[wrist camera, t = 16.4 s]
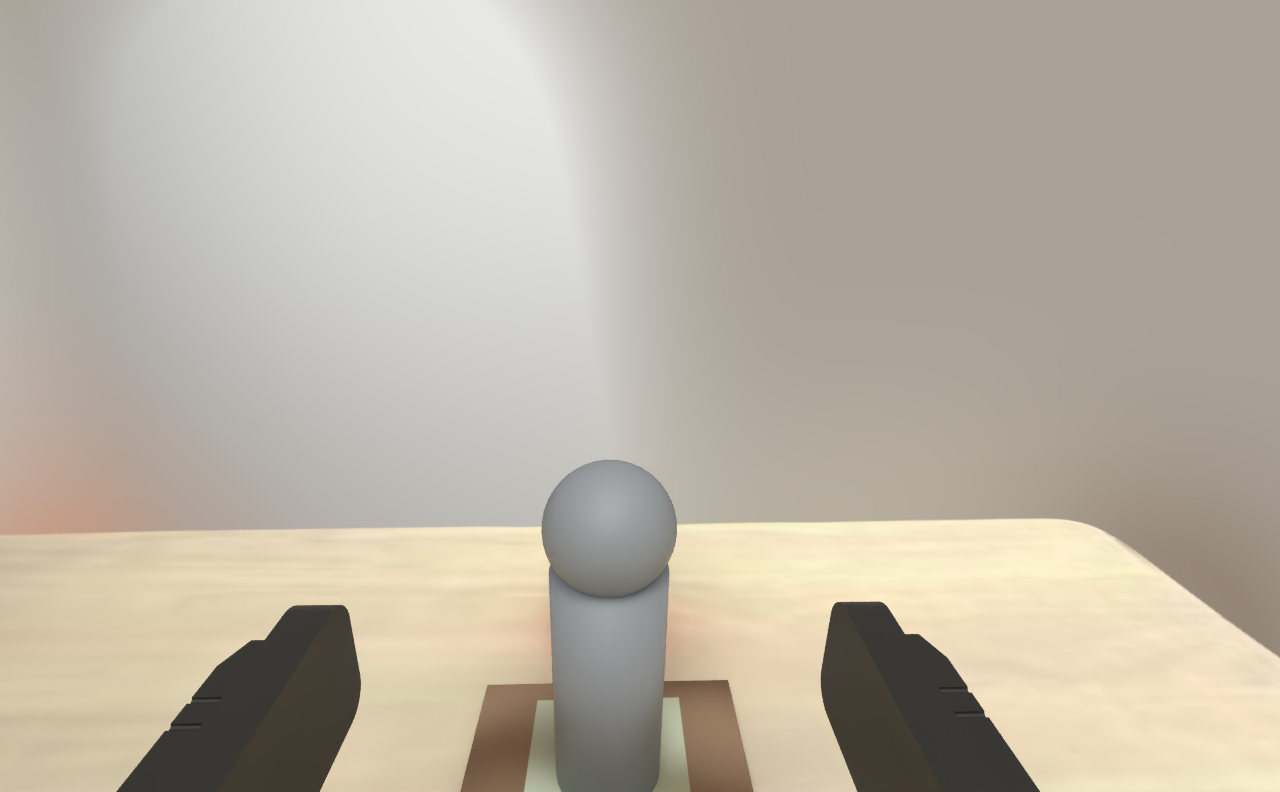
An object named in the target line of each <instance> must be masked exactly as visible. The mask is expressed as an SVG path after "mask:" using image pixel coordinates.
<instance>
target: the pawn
mask: <svg viewBox="0 0 1280 792" xmlns="http://www.w3.org/2000/svg"><path fill="white" fill-rule="evenodd" d="M676 535H677V521H676V515H675V510H674V507H673V504H672V501H671V499H670V497H669V496H668V494H667V492H666V490H665V489H664V487H663V486H662V485H661V483H660V482H659V481H658V480H657V479H656V478H655V477H654V476H653V475H651V474H650V473H649V472H647V471H645V470H644V469H643V468H641V467H639V466H636V465H634V464H632V463H628V462H625V461H619V460H601V461H595V462H592V463H589V464H586V465H583V466H581V467H579V468H577V469H576V470H574V471H573V472H571V473H570V474H568V475H567V476H566V477H565V478H564V479H563V480H562V481H561V482H560V483H559V484H558V485H557V486H556V488H555V489H554V491H553V492H552V494H551V496H550V497H549V499H548V502H547V504H546V507H545V510H544V514H543V519H542V539H543V546H544V549H545V553H546V555H547V558H548V560H549V562H550V564H551V565H550V569H549V590H550V617H551V645H552V672H553V699H554V727H555V754H556V775H557V781H558V784H559V787H560V789H561V791H562V792H653V790H654V788H655V786H656V784H657V781H658V777H659V771H660V751H661V730H662V710H663V689H664V669H665V648H666V628H667V607H668V587H669V567H668V562H669V559H670V557H671V555H672V553H673V550H674V546H675V542H676Z"/></svg>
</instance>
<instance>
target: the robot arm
mask: <svg viewBox="0 0 1280 792" xmlns="http://www.w3.org/2000/svg"><path fill="white" fill-rule="evenodd" d="M360 690H361V679H360V672H359V666H358V661H357V655H356V650H355V644H354V639H353V633H352V627H351V622H350V616H349V613H348V610H347V609H346V607H345V606H343V605H303V606H293V607H291V608H289V609H288V610H287V611H286V612H285V614H284V615H283V616H282V618H281V619H280V620H279V622H278V623H277V624H276V626H275V627H274V628H273V630H272V631H271V632H270V634H269V635H268V636H267V638H266V639H265V640H251V641H250V642H249V643H247V644H246V645H245V646H243V647H242V648H241V649H239V650H238V651H237V652H235V653H234V654H233V655H231V656H230V657H229V658H227V659H226V660H225V661H223V662H222V663H221V664H219V665H218V666H217V667H216V668H215V669H214V671H213V672H212V673H211V674H210V676H209V677H208V678H207V679H206V681H205V682H204V683H203V684H202V686H201V687H200V688H199V689H198V691H197V692H196V693H195V694H194V696H193V697H192V701H191V703H190V704H186V706H185V707H184V708H183V709H182V711H181V712H180V713H179V714H178V716H177V717H176V718H175V719H174V721H173V722H172V723H171V728H170V730H169V731H165V732H164V733H163V734H162V736H161V737H160V738H159V739H158V741H157V742H156V743H155V744H154V745H153V747H152V748H151V749H150V750H149V752H148V753H147V754H146V755H145V757H144V758H143V759H142V760H141V762H140V763H139V764H138V765H137V767H136V768H135V769H134V770H133V772H132V773H131V774H130V775H129V777H128V778H127V779H126V780H125V782H124V783H123V784H122V785H121V787H120V788H119V789H118V790H117V792H320V790H321V788H322V785H323V783H324V781H325V779H326V777H327V775H328V773H329V771H330V769H331V766H332V764H333V762H334V760H335V758H336V756H337V754H338V752H339V750H340V747H341V745H342V743H343V741H344V739H345V737H346V735H347V733H348V731H349V728H350V726H351V724H352V722H353V720H354V717H355V714H356V711H357V708H358V703H359V698H360ZM821 691H822V698H823V703H824V707H825V710H826V713H827V716H828V719H829V721H830V724H831V726H832V729H833V731H834V734H835V736H836V739H837V741H838V744H839V746H840V749H841V751H842V754H843V756H844V759H845V761H846V764H847V767H848V769H849V772H850V774H851V777H852V779H853V782H854V784H855V787H856V789H857V792H1040V791H1039V789H1038V788H1037V787H1036V785H1035V784H1034V782H1033V781H1032V779H1031V778H1030V776H1029V775H1028V774H1027V772H1026V771H1025V769H1024V768H1023V766H1022V765H1021V763H1020V762H1019V761H1018V759H1017V758H1016V756H1015V755H1014V753H1013V752H1012V750H1011V749H1010V747H1009V746H1008V745H1007V743H1006V742H1005V740H1004V739H1003V737H1002V736H1001V734H1000V733H999V732H998V730H997V729H996V727H995V726H994V724H993V723H992V721H991V720H990V719H989V717H987V718H986V717H985V714H984V710H983V708H982V707H981V706H980V704H979V703H978V701H977V700H976V698H975V697H974V695H973V694H972V693H969V692H968V689H967V685H966V684H965V682H964V681H963V680H962V678H961V677H960V675H959V674H958V672H957V671H956V669H955V668H954V667H953V665H952V664H951V662H950V661H949V659H948V658H947V657H946V656H944V655H943V654H942V653H941V652H940V651H938V650H937V649H936V648H935V647H934V646H932V645H931V644H930V643H929V642H928V641H926V640H925V639H924V638H923V637H921V636H920V635H919V634H904V632H903V631H902V629H901V627H900V626H899V624H898V623H897V621H896V619H895V618H894V616H893V615H892V613H891V612H890V610H889V609H888V607H887V606H886V605H885V604H884V603H882V602H837V603H835V604H834V606H833V608H832V611H831V617H830V623H829V628H828V634H827V640H826V646H825V652H824V658H823V664H822V670H821Z"/></svg>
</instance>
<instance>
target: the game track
mask: <svg viewBox="0 0 1280 792" xmlns="http://www.w3.org/2000/svg"><path fill="white" fill-rule="evenodd" d="M461 792H562V791H561V789H560V787H559V784H558V781H557V775H556V754H555V727H554V699H553V684H516V685H487V689H486V693H485V697H484V701H483V705H482V709H481V713H480V717H479V721H478V725H477V729H476V733H475V737H474V741H473V745H472V749H471V752H470V756H469V760H468V764H467V768H466V772H465V776H464V780H463V784H462V788H461ZM653 792H753V788H752V784H751V780H750V775H749V771H748V766H747V762H746V758H745V753H744V749H743V745H742V740H741V736H740V731H739V727H738V723H737V718H736V714H735V710H734V705H733V701H732V696H731V692H730V688H729V683H728V680H712V681H664V689H663V710H662V730H661V751H660V771H659V777H658V781H657V784H656V786H655V788H654V790H653Z"/></svg>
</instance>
